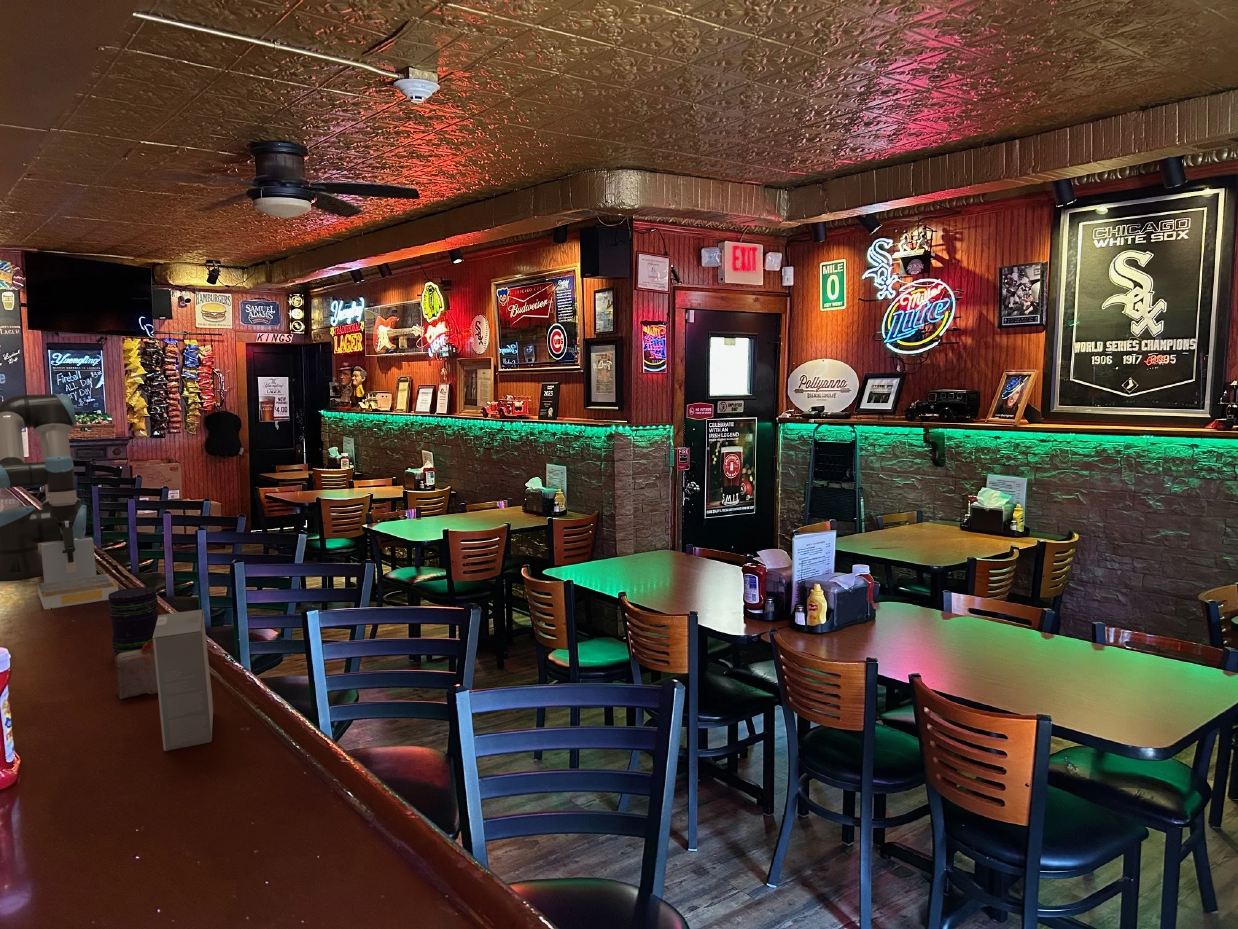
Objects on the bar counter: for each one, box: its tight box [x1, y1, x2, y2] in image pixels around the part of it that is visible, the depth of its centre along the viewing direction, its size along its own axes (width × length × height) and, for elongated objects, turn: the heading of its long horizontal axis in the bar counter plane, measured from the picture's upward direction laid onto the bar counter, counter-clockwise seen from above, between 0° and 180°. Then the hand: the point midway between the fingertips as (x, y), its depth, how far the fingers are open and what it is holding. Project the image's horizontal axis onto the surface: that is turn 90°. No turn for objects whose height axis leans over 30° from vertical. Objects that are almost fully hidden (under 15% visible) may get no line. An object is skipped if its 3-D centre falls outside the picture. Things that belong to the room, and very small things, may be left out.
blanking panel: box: [39, 536, 97, 583], centre depth 276 cm, size 5×14×14 cm, turn 127°
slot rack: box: [37, 573, 119, 610], centre depth 258 cm, size 24×19×4 cm
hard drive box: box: [152, 609, 214, 752], centre depth 150 cm, size 16×8×20 cm, turn 25°
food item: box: [113, 641, 158, 700], centre depth 173 cm, size 14×8×10 cm, turn 126°
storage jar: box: [108, 586, 160, 659], centre depth 196 cm, size 10×10×15 cm
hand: (69, 569), depth 276 cm, fingers open, 13 cm apart
